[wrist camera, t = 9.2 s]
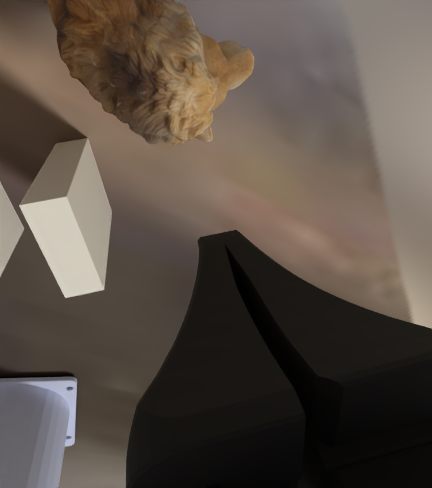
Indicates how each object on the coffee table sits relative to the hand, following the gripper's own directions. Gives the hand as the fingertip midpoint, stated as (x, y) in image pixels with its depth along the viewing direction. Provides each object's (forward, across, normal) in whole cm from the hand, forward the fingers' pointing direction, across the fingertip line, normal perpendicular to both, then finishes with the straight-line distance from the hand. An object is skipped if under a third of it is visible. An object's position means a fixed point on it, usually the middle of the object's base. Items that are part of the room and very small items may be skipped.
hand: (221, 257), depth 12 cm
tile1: (+9, +6, 0) cm, 11 cm away
